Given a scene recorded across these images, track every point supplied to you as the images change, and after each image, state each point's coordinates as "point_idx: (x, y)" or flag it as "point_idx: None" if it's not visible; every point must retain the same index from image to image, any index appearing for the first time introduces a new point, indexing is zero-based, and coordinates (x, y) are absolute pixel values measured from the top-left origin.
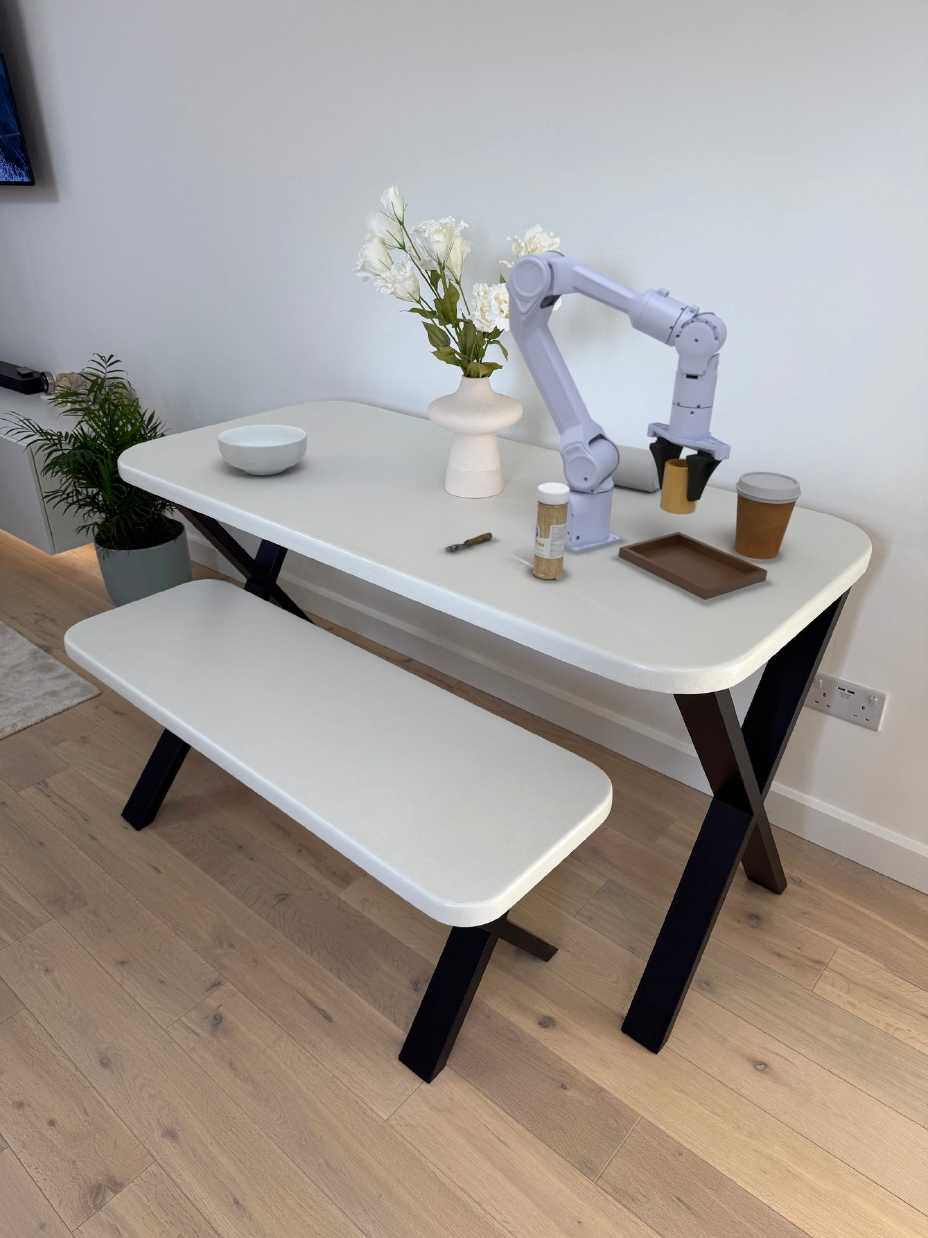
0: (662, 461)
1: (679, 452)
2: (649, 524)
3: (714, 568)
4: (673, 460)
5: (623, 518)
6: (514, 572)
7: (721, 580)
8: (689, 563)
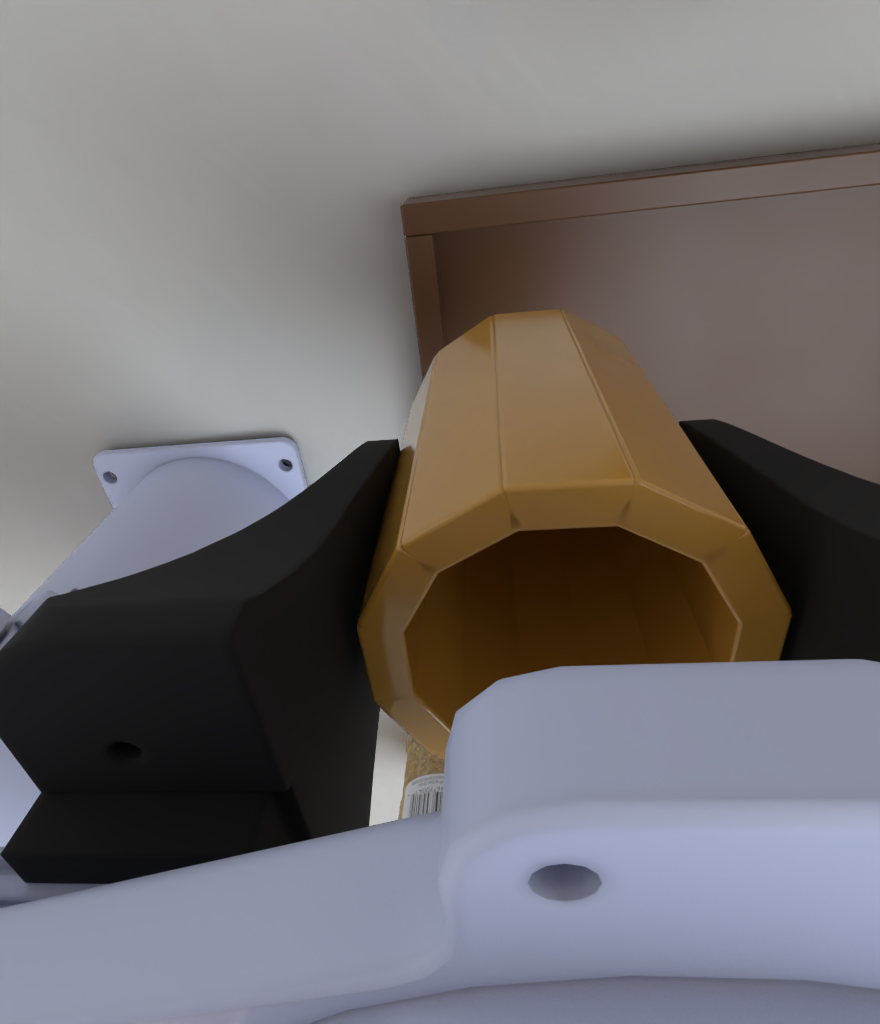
0: (373, 734)
1: (312, 601)
2: (114, 147)
3: (775, 281)
4: (410, 668)
5: (8, 232)
6: (401, 784)
7: (875, 347)
8: (658, 351)
